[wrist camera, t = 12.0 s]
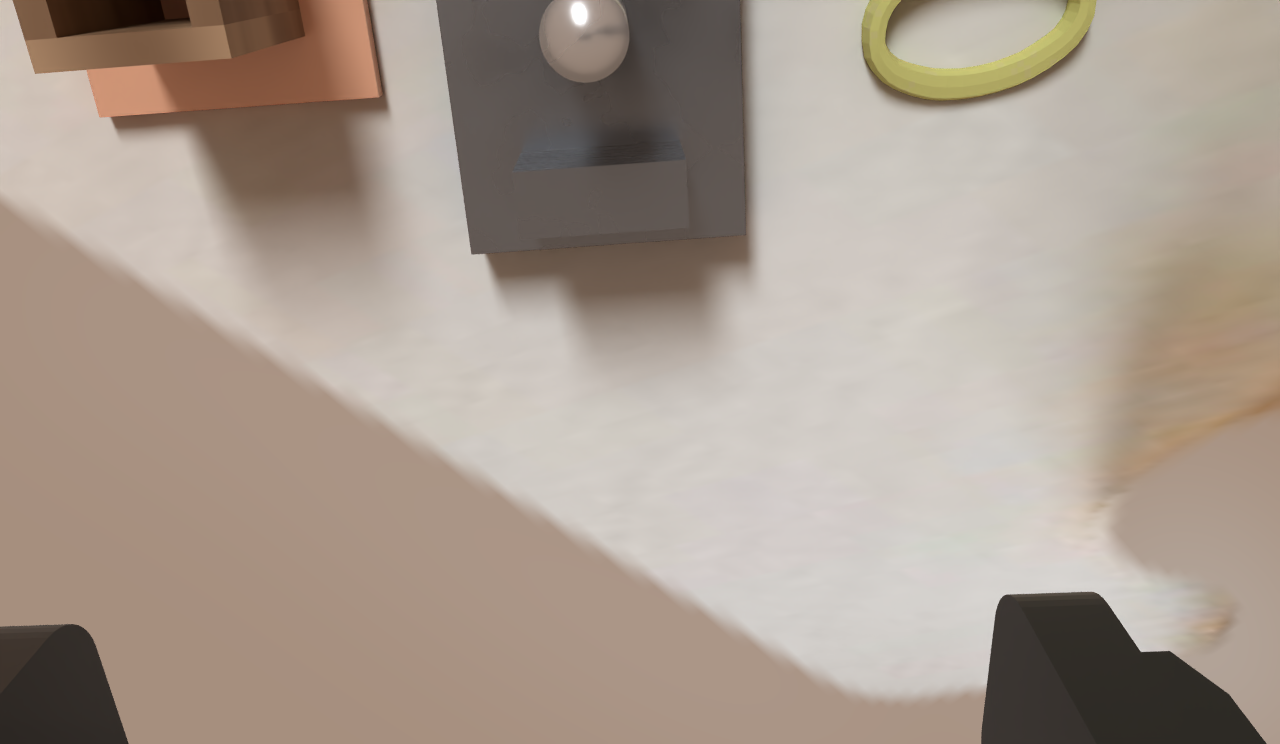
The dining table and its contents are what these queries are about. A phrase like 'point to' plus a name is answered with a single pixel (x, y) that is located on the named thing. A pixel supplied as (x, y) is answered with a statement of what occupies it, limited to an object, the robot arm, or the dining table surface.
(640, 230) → the grey clamp base
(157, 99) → the tile
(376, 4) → the dining table surface
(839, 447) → the dining table surface
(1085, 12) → the key
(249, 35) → the sleeve
